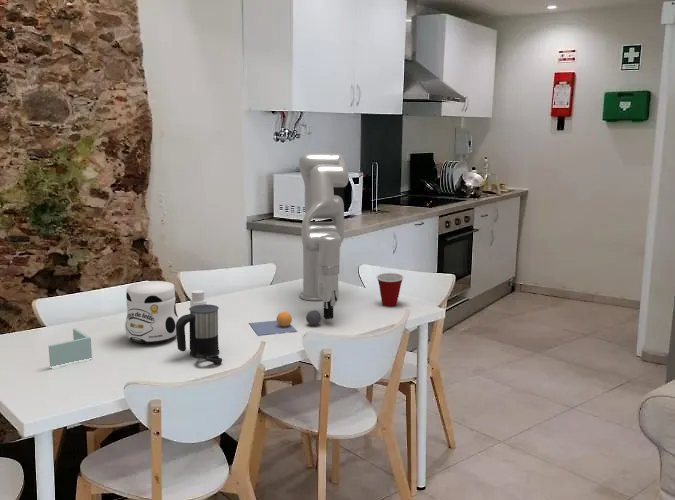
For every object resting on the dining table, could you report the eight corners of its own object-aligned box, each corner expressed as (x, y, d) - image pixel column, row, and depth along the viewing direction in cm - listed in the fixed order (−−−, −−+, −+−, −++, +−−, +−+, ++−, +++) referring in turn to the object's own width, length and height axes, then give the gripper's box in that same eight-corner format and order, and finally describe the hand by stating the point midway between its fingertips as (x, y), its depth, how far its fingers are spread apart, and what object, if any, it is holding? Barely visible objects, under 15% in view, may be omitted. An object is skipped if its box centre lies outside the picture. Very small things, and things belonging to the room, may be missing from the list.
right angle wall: (77, 350, 206) (75, 328, 205) (92, 361, 198) (90, 337, 196) (37, 359, 199) (35, 336, 197) (51, 370, 190) (49, 346, 188)
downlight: (205, 321, 237) (205, 294, 236) (186, 320, 237) (185, 293, 236) (210, 315, 245) (209, 289, 243) (191, 315, 245) (191, 289, 244)
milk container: (124, 349, 207) (121, 294, 204) (126, 332, 223) (124, 281, 220) (180, 345, 212) (178, 291, 208) (178, 328, 228) (176, 279, 224)
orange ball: (291, 318, 236) (279, 327, 235) (284, 306, 234) (272, 315, 233) (296, 322, 231) (283, 331, 230) (288, 311, 229) (276, 320, 228)
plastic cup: (371, 306, 259) (371, 277, 257) (382, 299, 269) (383, 271, 266) (396, 310, 254) (397, 280, 252) (406, 303, 264) (407, 274, 261)
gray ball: (317, 306, 236) (315, 319, 238) (304, 309, 233) (302, 321, 235) (324, 313, 232) (323, 326, 234) (311, 316, 229) (310, 329, 232)
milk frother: (204, 346, 211) (203, 302, 208) (242, 355, 203) (241, 310, 200) (172, 359, 199) (170, 312, 196) (210, 370, 191) (209, 321, 188)
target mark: (248, 323, 235) (248, 323, 235) (286, 320, 240) (286, 319, 240) (258, 335, 222) (258, 335, 222) (297, 331, 227) (297, 331, 227)
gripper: (312, 265, 240) (312, 313, 243) (326, 274, 226) (325, 325, 230) (331, 264, 242) (331, 311, 246) (346, 273, 229) (345, 323, 232)
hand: (328, 318), depth 238 cm, fingers closed
